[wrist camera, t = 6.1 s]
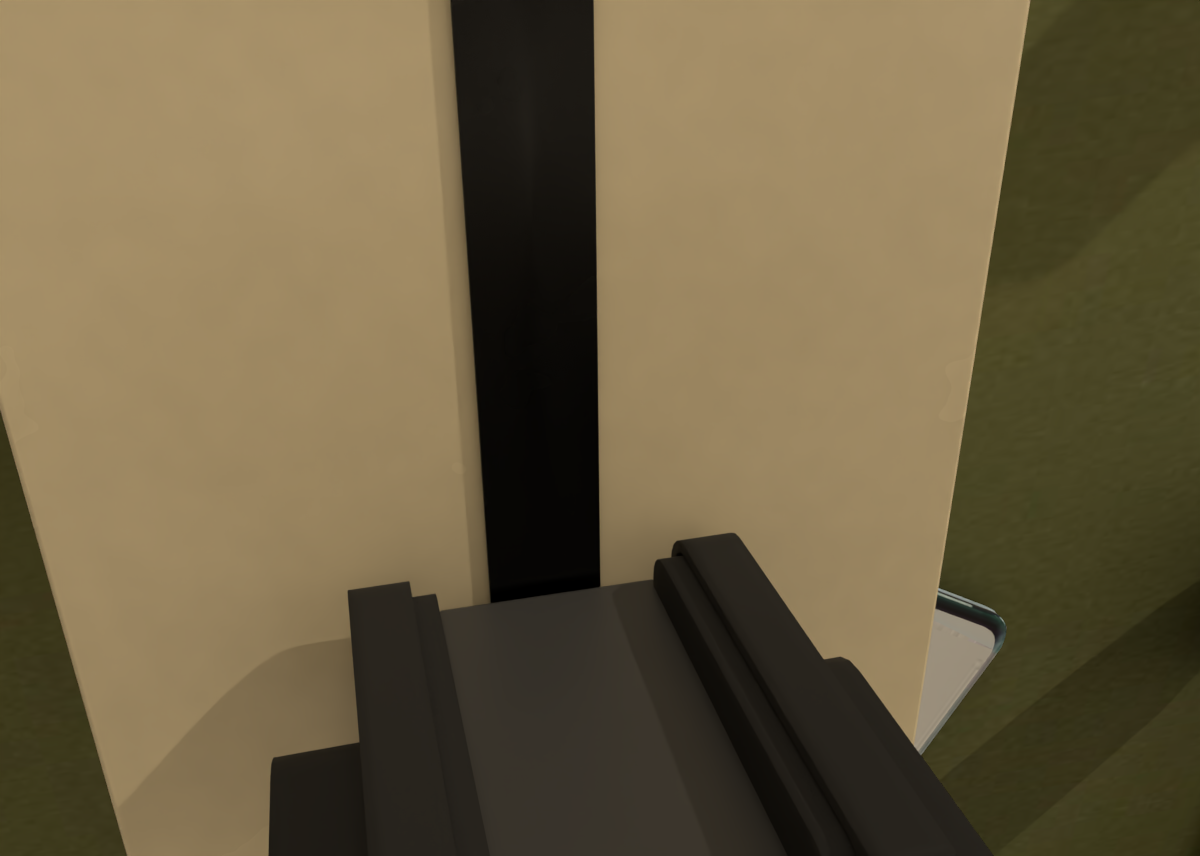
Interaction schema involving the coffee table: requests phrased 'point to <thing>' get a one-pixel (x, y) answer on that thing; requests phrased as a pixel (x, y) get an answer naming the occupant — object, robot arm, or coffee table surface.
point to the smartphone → (955, 659)
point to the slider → (597, 731)
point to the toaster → (474, 333)
